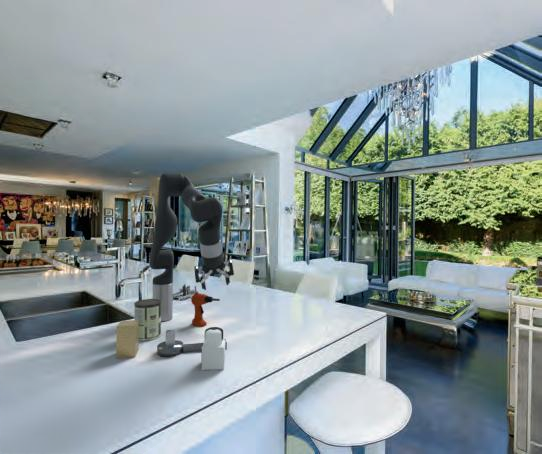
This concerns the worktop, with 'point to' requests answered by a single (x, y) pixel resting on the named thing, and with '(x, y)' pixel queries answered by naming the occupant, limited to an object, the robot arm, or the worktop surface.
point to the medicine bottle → (213, 350)
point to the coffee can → (148, 318)
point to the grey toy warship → (184, 290)
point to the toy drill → (200, 307)
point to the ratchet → (177, 346)
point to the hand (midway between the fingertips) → (216, 286)
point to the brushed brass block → (127, 339)
